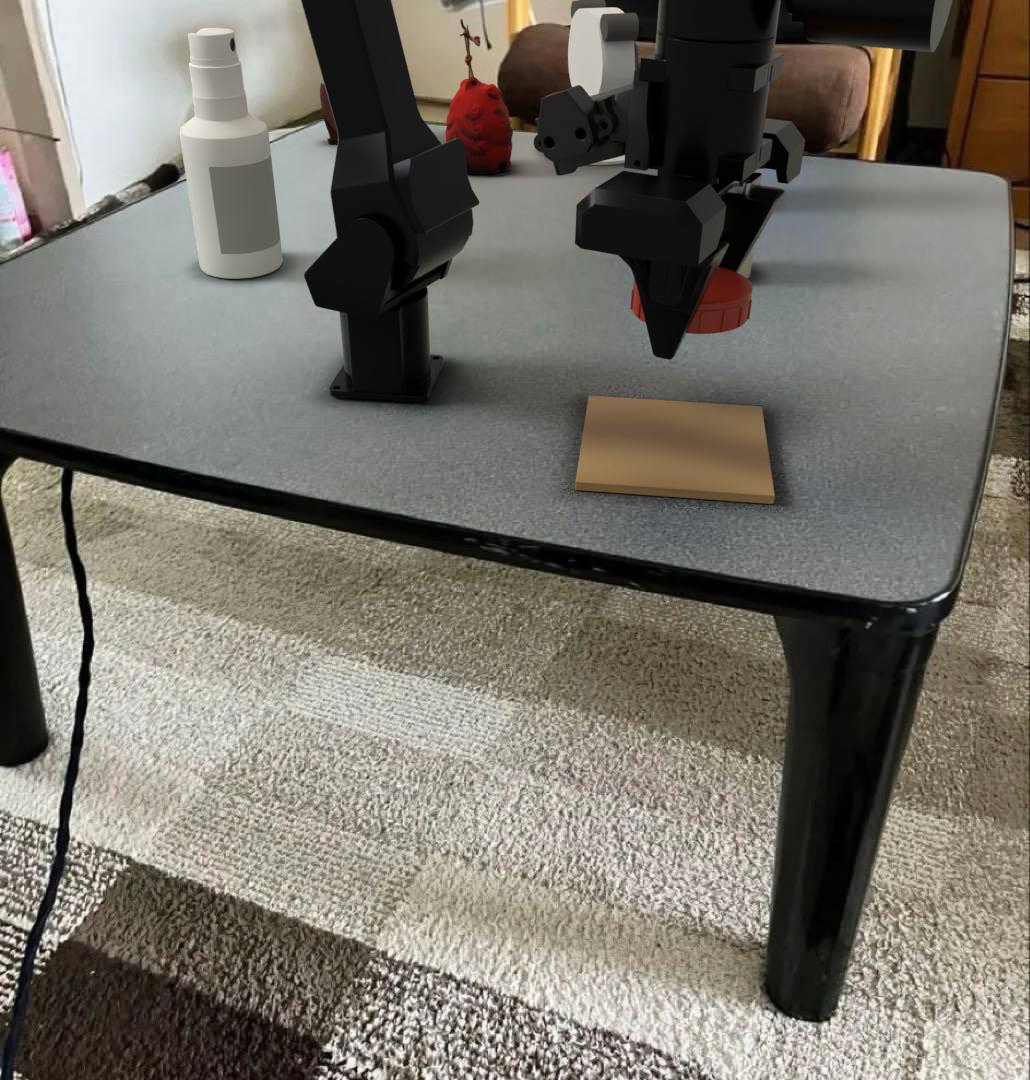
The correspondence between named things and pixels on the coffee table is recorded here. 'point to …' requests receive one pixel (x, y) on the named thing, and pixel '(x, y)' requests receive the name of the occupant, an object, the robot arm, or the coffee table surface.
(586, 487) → the coaster
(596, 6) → the white stand
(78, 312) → the coffee table surface
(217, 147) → the spray bottle
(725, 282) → the jar lid
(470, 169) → the red clay folk toy
